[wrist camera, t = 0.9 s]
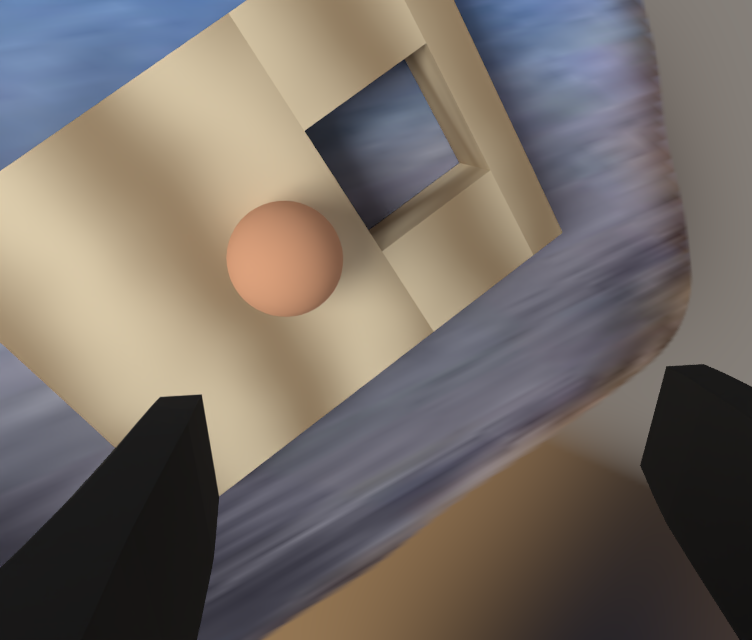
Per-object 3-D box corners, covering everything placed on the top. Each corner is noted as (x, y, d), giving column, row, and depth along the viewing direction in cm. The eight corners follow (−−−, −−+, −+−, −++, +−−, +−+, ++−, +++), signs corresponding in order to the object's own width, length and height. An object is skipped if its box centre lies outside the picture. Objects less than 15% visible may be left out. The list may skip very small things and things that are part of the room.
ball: (262, 317, 22) (284, 356, 19) (196, 235, 21) (208, 263, 17) (345, 255, 22) (379, 284, 19) (286, 170, 21) (314, 185, 18)
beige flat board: (186, 480, 26) (191, 517, 24) (-80, 227, 20) (-107, 244, 18) (527, 220, 27) (562, 232, 25) (375, -88, 21) (403, -108, 19)
